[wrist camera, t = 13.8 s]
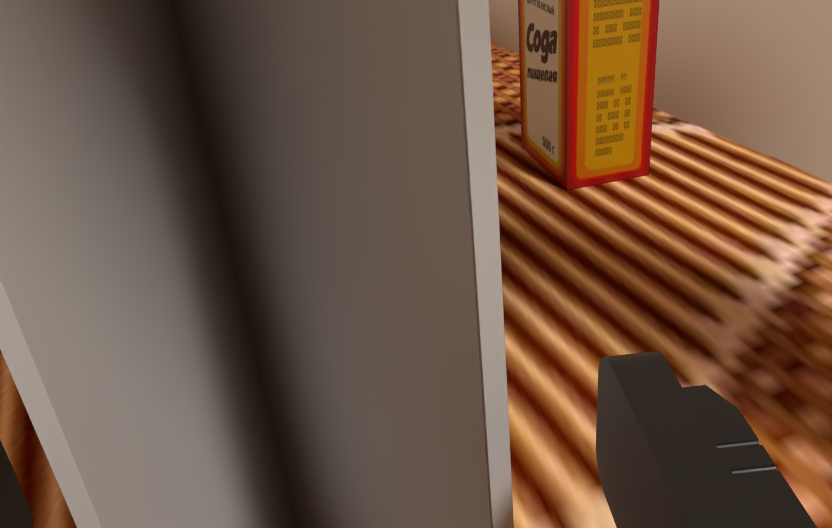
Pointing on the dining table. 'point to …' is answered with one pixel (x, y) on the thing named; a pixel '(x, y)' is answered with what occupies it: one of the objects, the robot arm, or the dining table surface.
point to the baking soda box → (588, 87)
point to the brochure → (256, 260)
